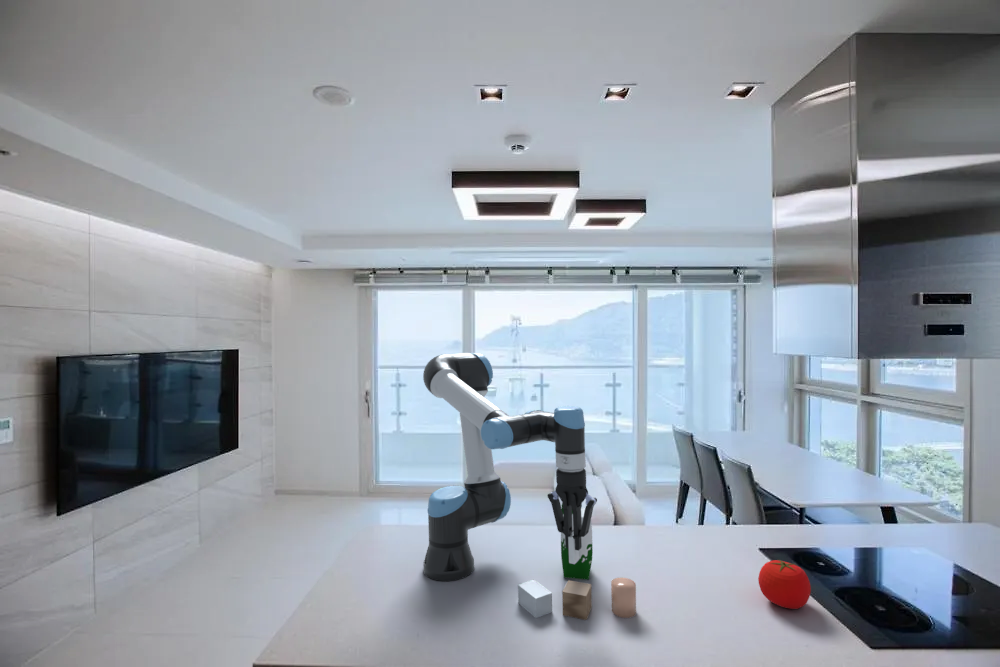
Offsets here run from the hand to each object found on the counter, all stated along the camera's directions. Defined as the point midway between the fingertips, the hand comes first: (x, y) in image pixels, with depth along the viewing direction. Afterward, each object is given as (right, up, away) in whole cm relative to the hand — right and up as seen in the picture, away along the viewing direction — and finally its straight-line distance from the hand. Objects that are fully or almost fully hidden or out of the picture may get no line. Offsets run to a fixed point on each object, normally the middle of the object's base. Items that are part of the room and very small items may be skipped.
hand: (574, 561), depth 126 cm
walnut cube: (+1, -13, 0) cm, 13 cm away
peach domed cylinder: (+13, -12, -1) cm, 17 cm away
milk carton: (+4, -12, +19) cm, 23 cm away
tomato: (+54, -12, +1) cm, 55 cm away
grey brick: (-10, -13, +2) cm, 16 cm away
